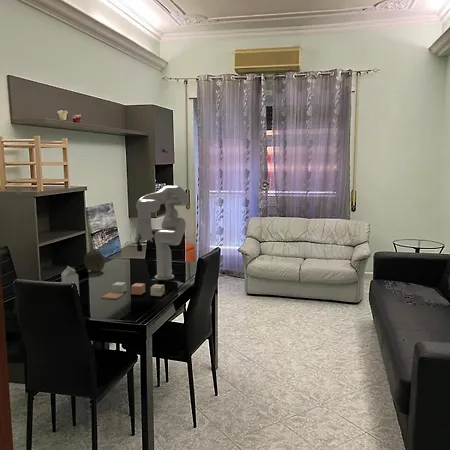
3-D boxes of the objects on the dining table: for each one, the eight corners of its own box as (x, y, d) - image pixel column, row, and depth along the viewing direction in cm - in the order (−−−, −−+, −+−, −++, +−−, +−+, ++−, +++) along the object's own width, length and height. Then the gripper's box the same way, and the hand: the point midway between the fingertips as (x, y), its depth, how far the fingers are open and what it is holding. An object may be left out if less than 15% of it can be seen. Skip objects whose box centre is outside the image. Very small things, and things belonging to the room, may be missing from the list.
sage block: (117, 290, 270) (117, 281, 269) (126, 290, 269) (126, 282, 268) (112, 292, 264) (112, 284, 264) (121, 293, 263) (121, 285, 262)
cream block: (154, 292, 264) (154, 284, 264) (164, 293, 263) (164, 285, 262) (150, 295, 259) (150, 287, 258) (160, 296, 257) (160, 287, 256)
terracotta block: (135, 291, 267) (135, 283, 267) (145, 292, 266) (145, 283, 265) (131, 294, 261) (131, 285, 261) (141, 295, 260) (140, 286, 259)
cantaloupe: (108, 269, 320) (107, 248, 318) (101, 274, 307) (100, 252, 304) (89, 269, 322) (88, 248, 320) (80, 274, 308) (79, 252, 306)
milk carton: (66, 303, 245) (64, 269, 242) (62, 300, 250) (60, 266, 248) (79, 301, 249) (77, 267, 246) (75, 297, 255) (73, 264, 252)
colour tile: (109, 293, 262) (109, 292, 262) (123, 294, 260) (123, 293, 260) (101, 298, 253) (101, 296, 253) (116, 299, 251) (116, 298, 251)
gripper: (148, 220, 277) (148, 247, 279) (129, 222, 262) (130, 251, 264) (158, 220, 274) (158, 248, 275) (140, 223, 258) (140, 252, 260)
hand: (144, 250), depth 269 cm, fingers open, 9 cm apart
